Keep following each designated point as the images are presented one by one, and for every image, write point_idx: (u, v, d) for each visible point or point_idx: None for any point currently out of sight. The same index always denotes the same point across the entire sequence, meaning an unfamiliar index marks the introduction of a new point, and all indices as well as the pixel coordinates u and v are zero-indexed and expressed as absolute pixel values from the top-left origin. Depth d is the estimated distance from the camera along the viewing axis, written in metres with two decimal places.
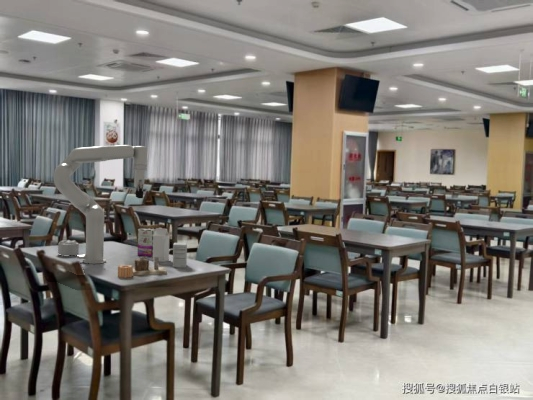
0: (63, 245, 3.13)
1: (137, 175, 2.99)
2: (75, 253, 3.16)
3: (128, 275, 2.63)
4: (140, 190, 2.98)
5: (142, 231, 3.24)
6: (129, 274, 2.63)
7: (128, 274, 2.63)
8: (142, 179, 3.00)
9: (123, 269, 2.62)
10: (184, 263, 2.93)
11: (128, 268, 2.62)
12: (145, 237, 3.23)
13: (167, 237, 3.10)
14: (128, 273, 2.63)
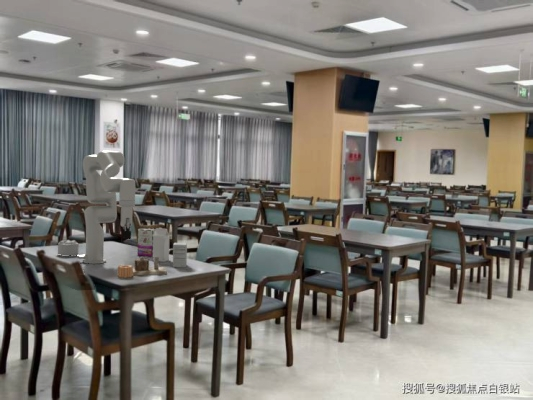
0: (63, 245, 3.12)
1: (124, 213, 2.59)
2: (75, 253, 3.16)
3: (128, 275, 2.63)
4: (127, 230, 2.58)
5: (142, 231, 3.24)
6: (129, 274, 2.63)
7: (128, 274, 2.63)
8: (129, 217, 2.60)
9: (123, 269, 2.62)
10: (184, 263, 2.93)
11: (128, 268, 2.62)
12: (145, 237, 3.23)
13: (167, 237, 3.10)
14: (128, 273, 2.63)
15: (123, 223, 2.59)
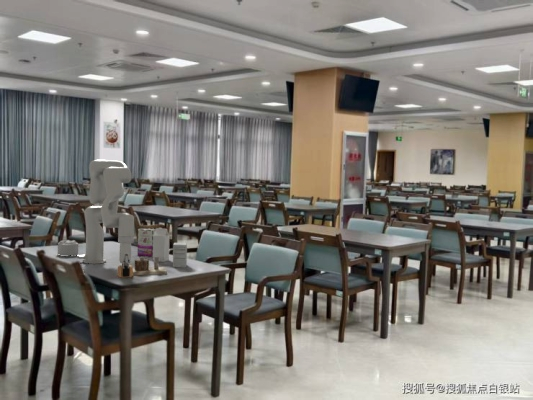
0: (63, 245, 3.12)
1: (122, 249, 2.59)
2: (75, 253, 3.16)
3: None
4: (126, 268, 2.59)
5: (142, 231, 3.24)
6: (129, 274, 2.63)
7: None
8: (128, 254, 2.60)
9: None
10: (184, 263, 2.93)
11: None
12: (145, 237, 3.23)
13: (167, 237, 3.10)
14: None
15: (122, 259, 2.59)
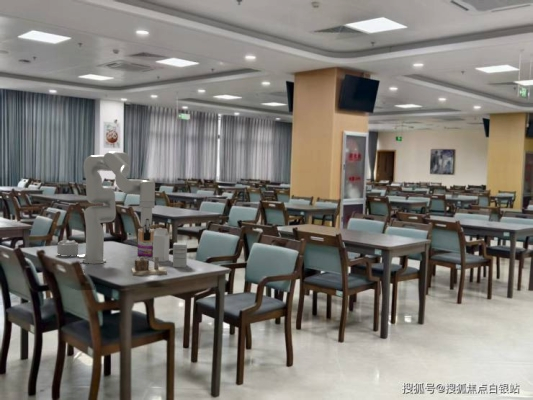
0: (63, 245, 3.12)
1: (144, 214, 2.66)
2: (75, 253, 3.16)
3: None
4: (147, 232, 2.67)
5: None
6: (150, 238, 2.70)
7: None
8: (149, 218, 2.67)
9: None
10: (184, 263, 2.93)
11: None
12: None
13: (167, 237, 3.10)
14: None
15: (143, 224, 2.66)
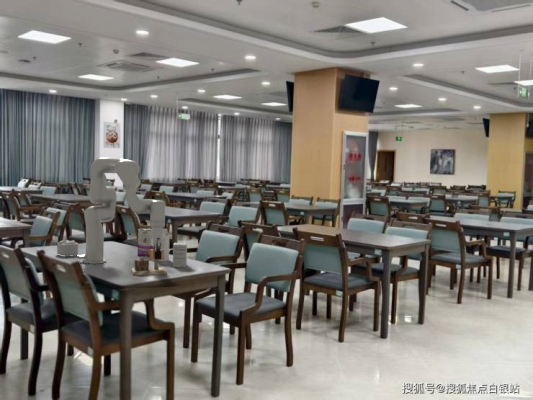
0: (63, 245, 3.12)
1: (155, 233, 2.71)
2: (75, 253, 3.16)
3: None
4: (158, 251, 2.72)
5: (142, 231, 3.24)
6: (161, 257, 2.75)
7: None
8: (160, 237, 2.72)
9: None
10: (184, 263, 2.93)
11: None
12: (145, 237, 3.23)
13: (167, 237, 3.10)
14: None
15: (154, 243, 2.71)
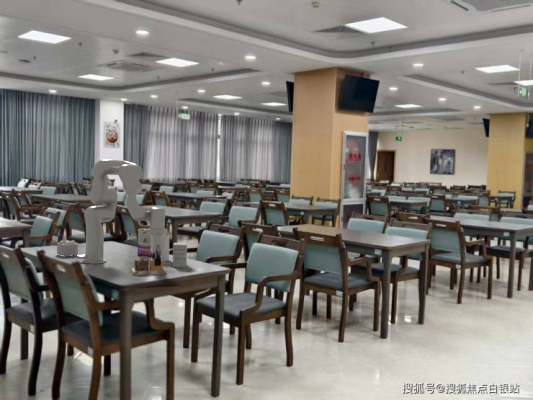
0: (63, 245, 3.12)
1: (154, 240, 2.72)
2: (74, 253, 3.16)
3: (159, 268, 2.75)
4: (158, 257, 2.71)
5: (142, 231, 3.24)
6: (160, 267, 2.76)
7: (159, 267, 2.75)
8: (160, 245, 2.72)
9: (154, 262, 2.74)
10: (184, 263, 2.93)
11: None
12: (145, 237, 3.23)
13: (167, 237, 3.10)
14: (159, 266, 2.75)
15: (154, 250, 2.72)
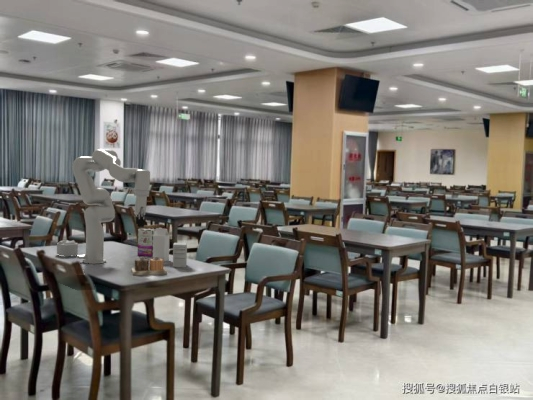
0: (62, 245, 3.11)
1: (138, 202, 2.75)
2: (74, 253, 3.15)
3: (159, 268, 2.75)
4: (141, 218, 2.74)
5: (142, 231, 3.24)
6: (160, 267, 2.76)
7: (159, 267, 2.75)
8: (144, 206, 2.75)
9: (154, 262, 2.74)
10: (184, 263, 2.93)
11: (159, 261, 2.75)
12: (145, 237, 3.23)
13: (167, 237, 3.10)
14: (159, 266, 2.75)
15: (137, 211, 2.75)
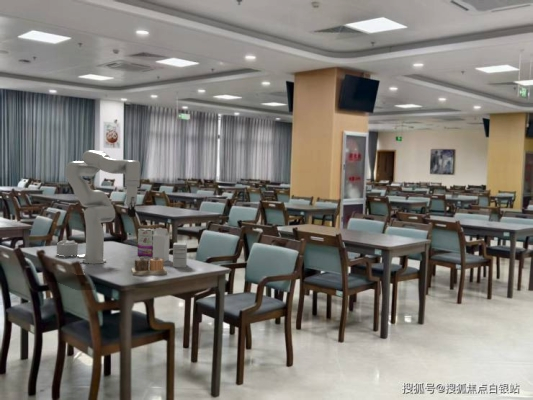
0: (62, 245, 3.11)
1: (129, 192, 2.77)
2: (74, 253, 3.15)
3: (159, 268, 2.75)
4: (132, 208, 2.76)
5: (142, 231, 3.24)
6: (160, 267, 2.76)
7: (159, 267, 2.75)
8: (134, 196, 2.77)
9: (154, 262, 2.74)
10: (184, 263, 2.93)
11: (159, 261, 2.75)
12: (145, 237, 3.23)
13: (167, 237, 3.10)
14: (159, 266, 2.75)
15: (128, 202, 2.77)
